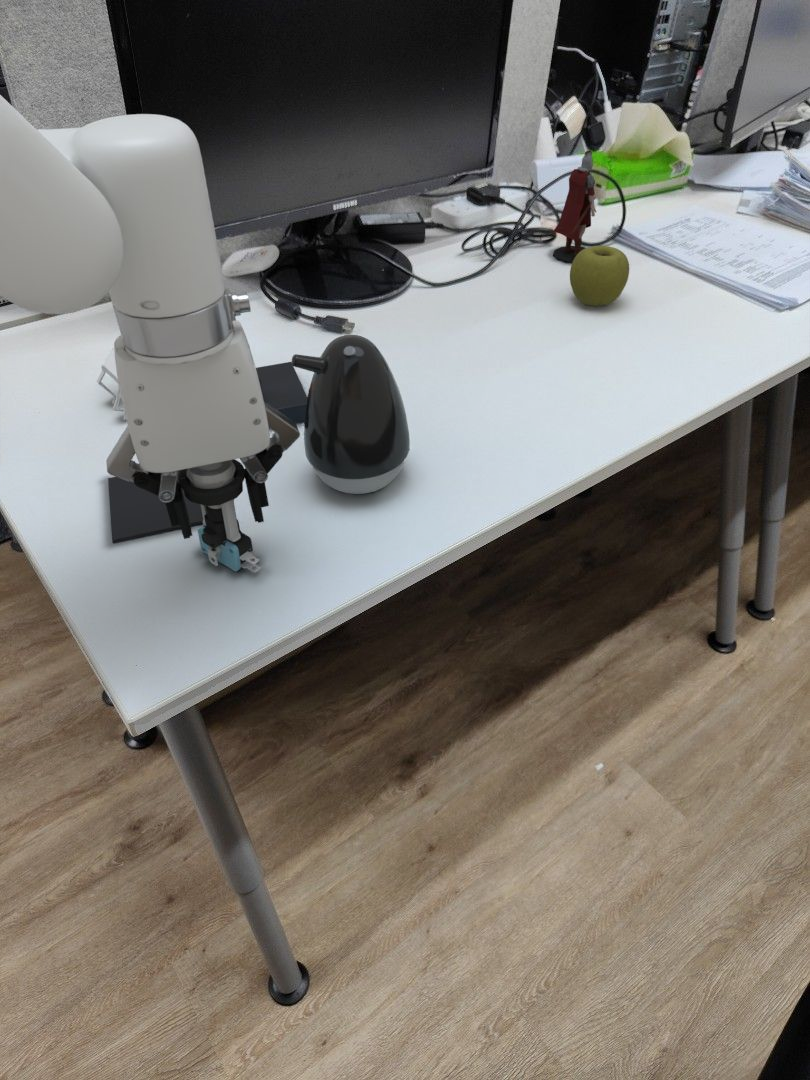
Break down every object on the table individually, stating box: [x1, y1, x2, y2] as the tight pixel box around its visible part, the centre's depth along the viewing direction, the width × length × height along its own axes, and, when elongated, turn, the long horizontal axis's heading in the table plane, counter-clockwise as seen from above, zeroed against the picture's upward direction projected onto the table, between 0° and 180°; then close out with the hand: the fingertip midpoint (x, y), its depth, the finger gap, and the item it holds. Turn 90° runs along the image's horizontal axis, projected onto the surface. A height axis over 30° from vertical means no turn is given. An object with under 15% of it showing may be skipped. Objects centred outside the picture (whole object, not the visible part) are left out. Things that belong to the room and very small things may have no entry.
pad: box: [107, 470, 203, 544], centre depth 75 cm, size 10×10×1 cm
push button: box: [178, 459, 261, 573], centre depth 65 cm, size 7×5×10 cm
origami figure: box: [96, 347, 127, 421], centre depth 89 cm, size 12×8×5 cm
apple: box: [569, 245, 630, 307], centre depth 104 cm, size 8×8×7 cm
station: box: [256, 361, 308, 424], centre depth 86 cm, size 12×10×4 cm
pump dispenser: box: [291, 334, 411, 495], centre depth 72 cm, size 10×10×15 cm
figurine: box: [552, 150, 597, 264], centre depth 114 cm, size 7×7×15 cm
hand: (221, 518), depth 65 cm, fingers closed on push button, 5 cm apart
